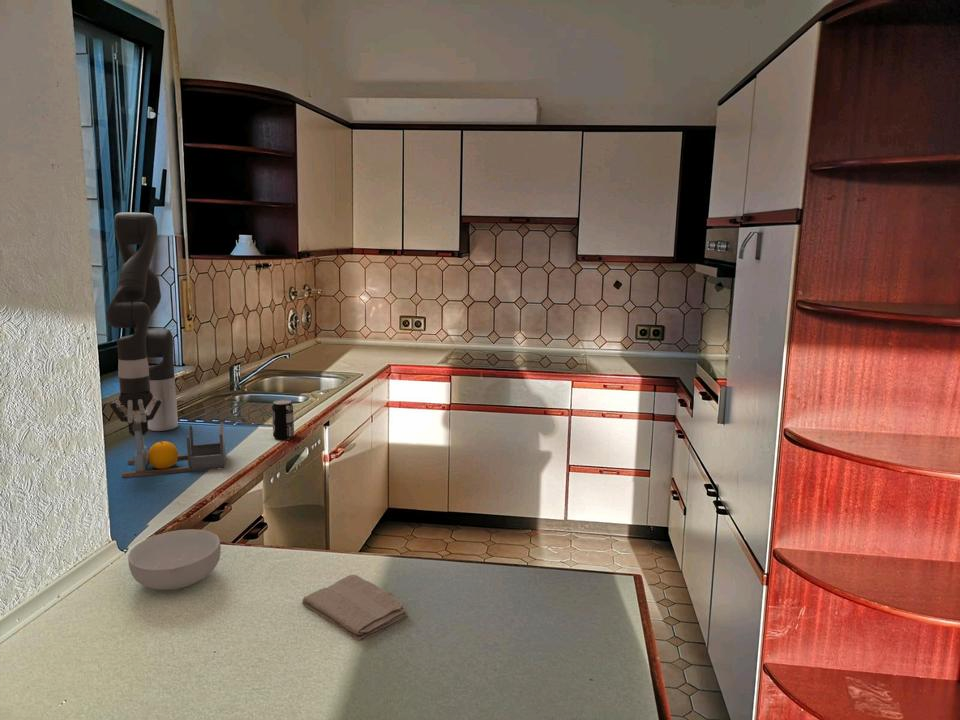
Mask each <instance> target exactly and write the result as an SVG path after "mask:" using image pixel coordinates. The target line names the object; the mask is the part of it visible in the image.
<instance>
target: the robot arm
mask: <svg viewBox="0 0 960 720" xmlns="http://www.w3.org/2000/svg"><path fill="white" fill-rule="evenodd" d="M113 221H114V222H113V226H114V227H113V228H114V233H115V237H116V241H117V246H118V248H119V252H120V255H121V256H120V257H121V260H122V263H123V264H122V267H121V269H120V271H119V275H118V281H117V282H118V283H117V289H116V291H115V294H114V296H113V298H112V299H111V301H110V303H109V305H108V307H107V310H106V311H107V312H106V320H107V322H108V324H109V325H110V326H111V327H112V328H115V329H134V334H130V335H129V334H128V335H126V336H122V337H119V338H118V339H117V342H116V347H117V359H118V364H117V365H118V366H117V369H118V371H117V374H118V382H119V392H120V393H119V396H118V399H116V400H114V401H111V402H110V404H109V407H110V408H111V410H112V411H113V412H114V414H115V415H116V416H117V418H118V419H119V420H120V421H121V422H123V423H124V422H126V423H127V424H128V433H129V435H131V436H132V437H135V431H133V428H132V425H133V423H134V421H135V411H139V413H140V418H141V419H142V435H143V436H146V434H147V433H148V432H149V430H150V431H154V432H160V431H161V432H162V431H169V430H173V429H176V428H178V427H179V419H178V405H177V390H176V380H175V379H176V378H175V364H174V338H173V333H172V331H171V330H170V329H167V328H166V329H164V328H163V329H148V328H149V325H150V320H151V316H152V315H153V314H154V312H155V310H156V309H157V308H158V307H159V304H160V302H161V298H162V292H161V287H160V280H159V277H158V275H157V274H156V273H155V272H154V271H153V268H151V267H150V265H151V261H152V259H153V255H154V251H155V248H156V247H155V246H156V243H157V240H158V222H157V219H156V217H155V215H154V214H152V213H148V212H124V211H123V212H118V213H116V214H115V216H114V219H113ZM134 245H135V246H136V245H140V246H139V248H138V249H137V250H136V249H135V247H134ZM149 358H151V359H154V358H162V361H160V362H159V363H157V364H156V365H153V366H150V367H149V363H148V359H149ZM121 404H122V406H124V408H126V410H127V415H126V413H124V411H123V410H122V408H121Z"/></svg>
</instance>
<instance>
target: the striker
mask: <svg viewBox="0 0 960 720" xmlns="http://www.w3.org/2000/svg"><path fill="white" fill-rule="evenodd" d="M132 428H133V431H135V436H134V438H135V451H136V452H135V454H134V456H133V457H134V459H135V464H134V468H135V472H140V471H146V468H147V465H148V464H149V462H148V459H147V458H148V450H147V448H148V447H147V445H145V440H144V435H142V419H141V417H136V418H134V423H133V425H132Z"/></svg>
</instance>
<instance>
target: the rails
mask: <svg viewBox="0 0 960 720" xmlns="http://www.w3.org/2000/svg"><path fill="white" fill-rule="evenodd" d="M147 459H148V457H147ZM178 459H182V460H188V454H184V455H182V454H181V455H178ZM128 463H129V464H128ZM131 463H135V459H127V464H128V465H132V464H131ZM148 463H149V461H148ZM187 471H189V466H187V467H175V468H165V469H153V470H151V469H150V470H145V471H140V472H136V471H130V472H122V473H121V478H132V477H133V478H134V477H141V476H143V477H144V476H152V475H154V476H155V475H166V473H167V474H176V473H177V472H178V473H187ZM189 472H190V471H189Z"/></svg>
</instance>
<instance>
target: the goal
mask: <svg viewBox="0 0 960 720" xmlns="http://www.w3.org/2000/svg"><path fill="white" fill-rule="evenodd" d="M219 424H220V426H219V442H210V443H209V442H208V443H200V444H199V443H197V444H195V443H194V442H195V441H194V430H193V428H194V427H193V424H190V425H189V426H188V428H189V435H188V436H186V447H187V448H186V450H187V455H188V459H187V462H188V467H189V472H194V471H193V470H200V471H206V470H205V469H211V470H219V469H218V468H222V469H225V467H226V442H225V427H224V426H225V424H224V422H221V423H219Z"/></svg>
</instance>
